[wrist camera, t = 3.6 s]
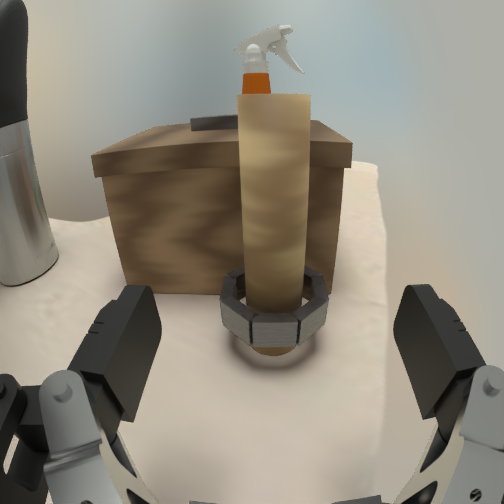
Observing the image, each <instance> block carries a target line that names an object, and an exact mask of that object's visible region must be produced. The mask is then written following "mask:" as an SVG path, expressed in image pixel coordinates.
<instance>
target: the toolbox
mask: <svg viewBox="0 0 504 504" xmlns="http://www.w3.org/2000/svg"><path fill="white" fill-rule="evenodd" d="M190 120H191V123H189V124H178V125H168V126H159V127H153V128H151V129H149V130H146V131H144V132H141V133H139V134H136V135H134V136H132V137H130V138H127V139H125V140H123V141H120V142H118V143H116V144H114V145H112V146H109V147H107V148H105V149H103V150H101V151H99V152H97V153H95V154H93V155H91V158H92V164H93V170H94V176H95V178H97V177H102V181H103V187H104V192H105V197H106V202H107V207H108V211H109V216H110V220H111V225H112V229H113V233H114V237H115V241H116V245H117V249H118V253H119V257H120V261H121V264H122V268H123V272H124V275H125V279H126V282H127V285H143V286H150V287H151V289H152V291H153V293H176V294H221V290H222V285H223V280H224V276H226V274H227V273H229V272H231V271H233V270H235V269H237V268H239V267H241V266H243V265H244V245H243V224H242V202H241V180H240V157H239V133H238V115H218V116H204V117H193V118H191V119H190ZM352 144H353V143H352V142H351V141H349V140H348V139H346V138H345V137H343V136H341V135H340V134H338V133H337V132H335V131H334V130H332V129H330V128H329V127H327V126H326V125H324V124H323V123H321V122H319V121H316V120H310V163H309V193H308V215H307V234H306V250H305V266H307V267H309V268H311V269H313V270H315V271H317V272H319V273H321V275H323V278H324V281H325V285H326V289H327V293H328V294H331V288H332V281H333V274H334V266H335V258H336V250H337V242H338V232H339V223H340V213H341V202H342V189H343V176H344V168H351V161H352Z"/></svg>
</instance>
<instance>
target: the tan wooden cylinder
mask: <svg viewBox="0 0 504 504" xmlns="http://www.w3.org/2000/svg"><path fill="white" fill-rule="evenodd" d="M237 108H238V133H239V157H240V180H241V202H242V224H243V245H244V266H245V286H246V305H247V307H248V308H250V309H251V310H253V311H254V312H256V313H294V312H295V311H296V310H298V309H299V308H301V303H302V291H303V279H304V265H305V250H306V234H307V215H308V193H309V163H310V95H307V94H242V95H237ZM251 346H252V348H253V349H255V350H256V351H258V352H260V353H262V354H265V355H281V354H285V353H287V352H289V351H291V350H292V349H293V348H294V347H253V344H252V345H251Z"/></svg>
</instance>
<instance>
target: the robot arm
mask: <svg viewBox="0 0 504 504" xmlns="http://www.w3.org/2000/svg"><path fill="white" fill-rule="evenodd" d="M27 43H28V16H27V10H26V7H25V5H24V3H23V1H22V0H0V282H1V283H2V284H4V285H18V284H22V283H25V282H27V281H30V280H32V279H34V278H36V277H38V276H39V275H41V274H43V273H44V272H45V271H47V270H48V269H49V268H50V267H51V266H52V265H53V264H54V263H55V261H56V260H57V258H58V250H57V247H56V244H55V241H54V238H53V234H52V231H51V227H50V224H49V220H48V216H47V213H46V209H45V205H44V201H43V197H42V193H41V190H40V185H39V181H38V176H37V171H36V166H35V161H34V155H33V150H32V144H31V138H30V131H29V124H28V120H27V119H28V116H27V78H26V63H27ZM393 332H394V338H395V341H396V344H397V346H398V349H399V352H400V354H401V357H402V359H403V363H404V365H405V368H406V371H407V374H408V376H409V379H410V382H411V385H412V388H413V391H414V394H415V397H416V400H417V403H418V406H419V409H420V412H421V415H422V419H423V420H424V419H429V418H433V417H436V419H437V422H438V423H437V424H436V425H435V427H434V429H433V431H432V434H431V436H430V439H429V441H428V444H427V446H426V448H425V451H424V453H423V455H422V457H421V460H420V462H419V464H418V466H417V468H416V470H415V472H414V474H413V476H412V477H411V479H410V481H409V482H408V483H407V484H406V486H405V487H404V488H403V489H402V491H401V492H400V494H399V495H398V496H397V498H396V500H395V502H394V503H393V504H500V503H501V504H504V372H503V371H502V370H501V369H499V368H498V367H495V366H491V365H486V363H485V361H484V360H483V358H482V356H481V354H480V352H479V350H478V349H477V347H476V345H475V344H474V342H473V340H472V338H471V336H470V335H469V333H468V332H467V331H466V328H465V326H464V325H463V323H462V322H460V318H459V317H458V315H457V313H456V312H455V310H454V309H453V308H452V307H451V306H450V305H449V304H448V303H447V302H445V301H444V300H443V299H439V298H438V296H437V294H436V293H435V291H434V290H433V288H432V287H431V286H430V285H429V284H421V285H408V286H406V288H405V290H404V293H403V296H402V299H401V302H400V306H399V309H398V312H397V315H396V318H395V321H394V328H393ZM161 334H162V326H161V321H160V317H159V313H158V310H157V306H156V302H155V299H154V295H153V291H152V289H151V287H150V286H143V285H126V286H125V287H124V289H123V291H122V292H121V294H120V296H119V297H118V299H117V300H112V301H110V302H109V303H108V304H107V305H106V306H105V307H103V308H102V309H101V310H100V312H99V313H98V315H97V317H96V318H95V320H94V324H92V325H91V327H90V329H89V330H88V334H86V336H85V337H84V339H83V341H82V343H81V345H80V346H79V348H78V350H77V352H76V354H75V356H74V357H73V359H72V361H71V363H70V365H69V367H68V368H67V370H61V371H57V372H55V373H53V374H51V375H50V376H48V377H47V378H46V379H45V380H44V382H43V383H42V385H36V386H20V385H19V383H18V382H17V381H16V379H15V378H14V377H13V376H12V375H9V374H0V504H45V502H46V498H47V494H48V490H49V492H50V495H51V498H52V501H53V504H159V503H158V501H157V500H156V498H155V497H154V495H153V494H152V493H151V491H150V490H149V489H148V487H147V486H146V485H145V483H144V482H143V480H142V478H141V476H140V475H139V473H138V471H137V469H136V467H135V465H134V463H133V461H132V458H131V456H130V454H129V452H128V450H127V448H126V446H125V444H124V441H123V439H122V437H121V434H120V432H119V431H118V427H119V424H120V421H121V420H122V421H127V422H134V419H135V416H136V412H137V409H138V406H139V403H140V400H141V397H142V393H143V390H144V387H145V384H146V381H147V378H148V375H149V372H150V369H151V366H152V363H153V360H154V357H155V354H156V352H157V349H158V346H159V343H160V340H161ZM13 435H15V436H16V437H17V438H18V439H19V441H18V444H17V447H16V450H15V452H14V455H13V458H12V461H11V464H10V467H9V470H8V473H7V474H5V472H4V468H3V463H4V459H5V457H6V454H7V451H8V448H9V446H10V443H11V440H12V438H13ZM189 504H215V503H205V502H197V501H190V502H189ZM332 504H389V503H382V502H381V496H380V495H377V496H372V497H367V498H361V499H354V500H348V501H340V502H335V503H332Z"/></svg>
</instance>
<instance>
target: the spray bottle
mask: <svg viewBox="0 0 504 504" xmlns="http://www.w3.org/2000/svg"><path fill="white" fill-rule="evenodd" d="M292 31H293V29H292V27H291V26H290V25H283V26H280V25H277V26H274V27H271V28H268V29H265V30H263V31H261V32H259V33H257V34H255V35H253V36H251V37H249V38H247V39H245V40H244V41H243V42H241V43H240V44H239V45H238V46H237V47H236V48H235V49H234V51H236V52H237V53H240V54H245V62H243V66H244V75H243V88H242V94H271V90H270V81H269V74H268V62H267V61H266V53H265V52H268V51H270V52H273V53H275V54H276V55H278V56H279V57H280V58H281V59H282V60H283V61H284V62H285V63H287V64H288V65H289V66H290V67H292V68H293V69H295V70H296V71H298V72H300V73H302V74H304V72H303V71H302V70H301V68H300V67H299V66H298V65H297V64H296V62H295V61H294V59H293V58H292V57H291V55H290V53H289V51H288V50H287V48H286V43H287V40H286V39H285V37H284V35H286V34H289V33H291V32H292ZM272 46H276V48H272Z"/></svg>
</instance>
